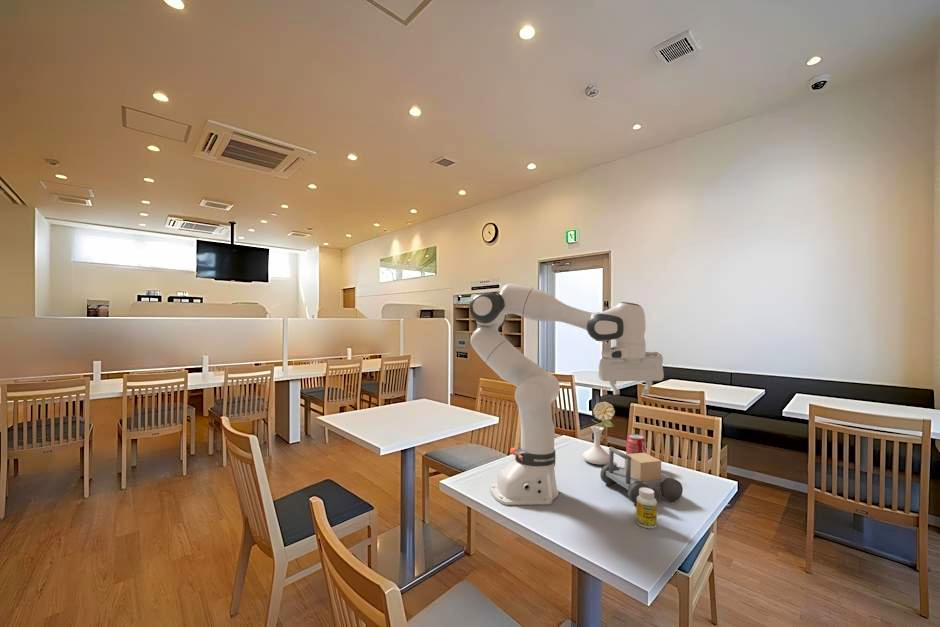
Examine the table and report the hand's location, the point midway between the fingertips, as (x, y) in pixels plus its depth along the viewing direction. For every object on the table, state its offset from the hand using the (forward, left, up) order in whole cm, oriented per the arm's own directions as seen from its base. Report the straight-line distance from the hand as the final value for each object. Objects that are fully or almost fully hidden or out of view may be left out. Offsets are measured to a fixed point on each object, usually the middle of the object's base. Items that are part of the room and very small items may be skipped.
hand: (630, 394), depth 129 cm
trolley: (+6, +3, -34) cm, 34 cm away
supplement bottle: (-6, -15, -34) cm, 38 cm away
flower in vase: (+8, +30, -34) cm, 46 cm away
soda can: (+20, +23, -34) cm, 46 cm away
